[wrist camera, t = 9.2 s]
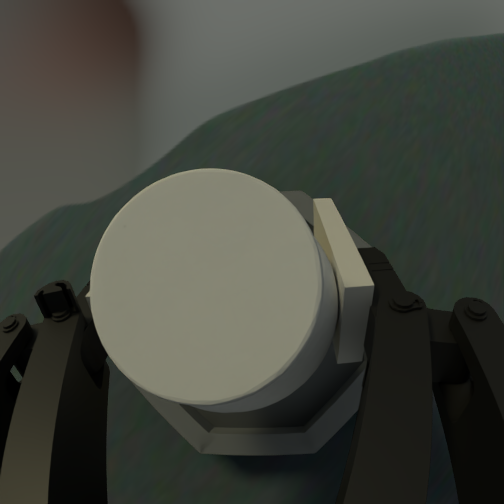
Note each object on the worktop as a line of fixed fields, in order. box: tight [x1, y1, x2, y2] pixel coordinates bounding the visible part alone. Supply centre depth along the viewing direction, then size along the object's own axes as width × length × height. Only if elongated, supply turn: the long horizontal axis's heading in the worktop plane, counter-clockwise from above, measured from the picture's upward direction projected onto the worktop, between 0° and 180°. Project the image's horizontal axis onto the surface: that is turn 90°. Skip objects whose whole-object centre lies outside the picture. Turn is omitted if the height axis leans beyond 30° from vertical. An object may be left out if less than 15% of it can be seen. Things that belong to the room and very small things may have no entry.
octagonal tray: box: [129, 191, 371, 455], centre depth 17 cm, size 14×14×2 cm
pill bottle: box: [90, 169, 338, 413], centre depth 11 cm, size 6×6×11 cm
